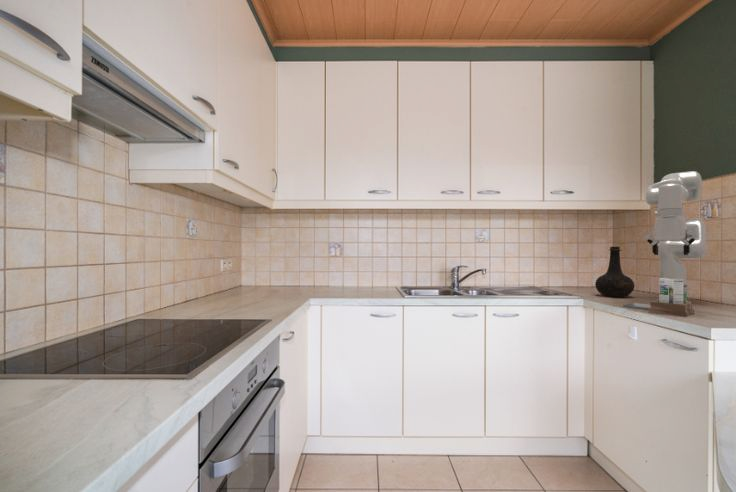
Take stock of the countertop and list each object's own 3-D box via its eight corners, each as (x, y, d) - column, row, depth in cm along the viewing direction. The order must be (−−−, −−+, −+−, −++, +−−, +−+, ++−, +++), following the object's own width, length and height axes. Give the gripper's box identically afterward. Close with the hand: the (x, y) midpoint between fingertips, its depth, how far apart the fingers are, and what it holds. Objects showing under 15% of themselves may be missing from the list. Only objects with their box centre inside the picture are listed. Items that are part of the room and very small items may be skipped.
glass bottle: (590, 296, 199) (589, 246, 199) (602, 293, 210) (602, 246, 210) (627, 299, 184) (627, 246, 185) (639, 296, 195) (638, 246, 195)
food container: (680, 310, 157) (680, 288, 156) (663, 307, 162) (663, 286, 162) (694, 306, 162) (694, 284, 161) (678, 303, 168) (678, 282, 167)
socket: (657, 309, 155) (657, 299, 155) (694, 313, 145) (694, 302, 145) (648, 312, 148) (648, 301, 148) (686, 316, 138) (686, 305, 138)
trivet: (631, 304, 169) (631, 302, 169) (660, 307, 160) (660, 305, 160) (622, 306, 163) (622, 304, 163) (652, 310, 154) (652, 308, 154)
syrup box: (658, 311, 149) (658, 277, 149) (671, 311, 150) (670, 277, 150) (671, 314, 144) (670, 278, 144) (684, 314, 144) (684, 278, 144)
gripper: (641, 215, 152) (642, 254, 151) (695, 211, 138) (696, 255, 137) (647, 216, 156) (648, 254, 156) (700, 212, 142) (700, 255, 142)
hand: (670, 254), depth 147 cm, fingers open, 9 cm apart
